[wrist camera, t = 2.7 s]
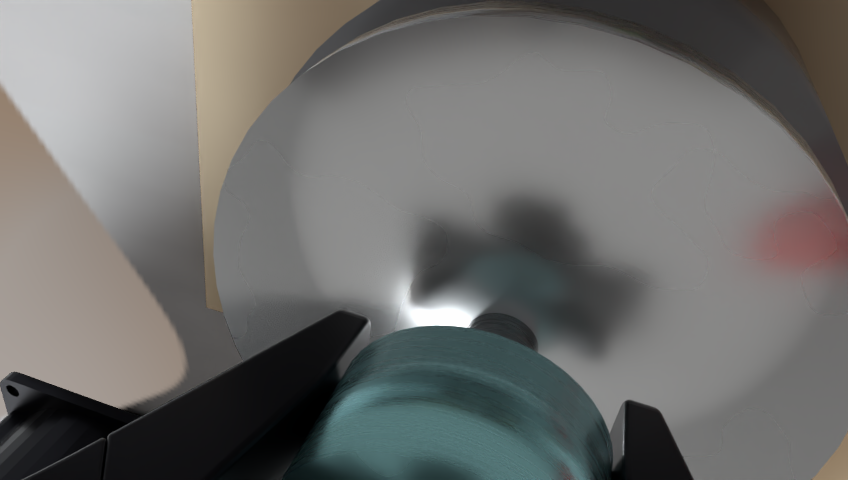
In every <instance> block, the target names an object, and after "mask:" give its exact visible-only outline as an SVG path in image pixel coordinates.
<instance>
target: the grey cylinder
mask: <svg viewBox="0 0 848 480" xmlns="http://www.w3.org/2000/svg"><path fill="white" fill-rule="evenodd" d="M484 1H537V2H546V3H552V4H559V5H566V6H572V7H579V8H586V9H592V10H595V11H598V12H602V13H605V14H609V15H612V16H616V17H619V18H623V19H626V20H630V21H633V22H636V23H640V24H643V25H645V26H647V27H649V28H652V29H654V30H656V31H658V32H661V33H663V34H665V35H668V36H670V37H672V38H674V39H677V40H679V41H681V42H683V43H686V44H688V45H690V46H692V47H693V48H695V49H697V50H698V51H700V52H701V53H703V54H705V55H706V56H708V57H710V58H711V59H713V60H714V61H716V62H718V63H719V64H721V65H723V66H724V67H726V68H727V69H729V70H731V71H732V72H734V73H735V74H736V75H738V76H739V77H740V78H741V79H742V80H744V81H745V82H746V83H747V84H748V85H750V86H751V87H752V88H753V89H754V90H756V91H757V92H758V93H759V94H760V95H762V96H763V97H764V98H765V99H767V100H768V101H769V102H770V103H771V104H773V105H774V106H775V107H776V109H777V110H778V111H779V112H780V113H781V114H782V115H783V116H784V117H785V119H786V120H787V121H788V122H789V123H790V124H791V125H792V126H793V128H794V129H795V130H796V131H797V132H798V133H799V134H800V135H801V137H802V138H803V139H804V140H805V141H806V142H807V143H808V145H809V147H810V148H811V150H812V151H813V153H814V154H815V156H816V157H817V159H818V161H819V162H820V164H821V165H822V167H823V168H824V170H825V171H826V173H827V174H828V176H829V178H830V179H831V181H832V182H833V185H834V187H835V189H836V192H837V194H838V196H839V198H840V201H841V203H842V205H843V208H844V210H845V212H846V215H847V217H848V164H847V162H846V160H845V157H844V155H843V153H842V150H841V148H840V145H839V143H838V141H837V138H836V136H835V134H834V131H833V129H832V127H831V124H830V122H829V120H828V117H827V115H826V113H825V110H824V108H823V106H822V103H821V101H820V99H819V96H818V94H817V91H816V89H815V87H814V84H813V82H812V80H811V77H810V75H809V73H808V70H807V68H806V66H805V63H804V61H803V59H802V56H801V54H800V52H799V49H798V47H797V46H796V44H795V43H794V41H793V39H792V38H791V36H790V35H789V33H788V31H787V30H786V28H785V27H784V25H783V23H782V22H781V20H780V19H779V18H778V16H777V15H776V14H775V13H774V12H773V11H772V9H771V8H770V7H769V6H768V5H767V4H766V3H765V1H764V0H379V1H378V2H376V3H375V4H373V5H372V6H371V7H369V8H368V9H366V10H365V11H363V12H362V13H360V14H359V15H357V16H356V17H354V18H353V19H351V20H350V21H348V22H347V23H345V24H344V25H343V26H342V27H341V28H340V29H339V30H337V31H336V32H335V33H334V34H333V35H332V36H331V37H330V38H329V39H327V40H326V41H325V42H324V43H323V44H322V45H321V46H320V47H319V48H317V49H316V51H315V52H314V53H313V54H312V56H311V57H310V58H309V59H308V61H307V62H306V63H305V64H304V66H303V67H302V68H301V69H300V70H299V72H298V73H297V74H296V75H295V77H294V78H293V80H292V82H293V81H295V80H296V79H297V78H298V77H299V76H300V75H302V74H303V73H304V72H306V71H307V70H308V69H310V68H311V67H312V66H314V65H315V64H317V63H318V62H319V61H321V60H322V59H323V58H325V57H326V56H328V55H329V54H331V53H333V52H334V51H336V50H337V49H339V48H340V47H342V46H344V45H345V44H347V43H348V42H350V41H351V40H353V39H355V38H356V37H358V36H360V35H362V34H364V33H366V32H369V31H371V30H373V29H376V28H378V27H380V26H382V25H385V24H387V23H389V22H391V21H394V20H396V19H399V18H402V17H406V16H410V15H413V14H417V13H421V12H424V11H428V10H432V9H435V8H439V7H444V6H452V5H460V4H468V3H476V2H484ZM292 82H291V83H292ZM291 83H290V84H291Z"/></svg>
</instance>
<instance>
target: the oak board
mask: <svg viewBox="0 0 848 480" xmlns="http://www.w3.org/2000/svg"><path fill="white" fill-rule="evenodd" d="M378 1H379V0H191V3H192V24H193V44H194V65H195V85H196V106H197V127H198V147H199V168H200V188H201V209H202V229H203V250H204V270H205V291H206V307H207V308H210V309H213V310H216V311H219V312H222V313H223V309H222V305H221V301H220V297H219V293H218V289H217V284H216V275H215V266H214V257H213V248H214V222H215V217H216V211H217V206H218V201H219V195H220V191H221V188H222V185H223V182H224V179H225V177H226V174H227V171H228V168H229V166H230V163H231V160H232V158H233V156H234V155H235V153H236V151H237V149H238V147H239V146H240V144H241V142H242V140H243V139H244V137H245V135H246V133H247V131H248V130H249V128H250V127H251V126H252V125H253V123H254V122H255V121H256V120H257V118H258V117H259V116H260V115H261V113H262V112H263V111H264V110H265V109H266V107H267V106H268V105H269V104H270V102H271V101H272V100H273V99H274V98H275V97H277V96H278V95H279V94H280V93H281V92H282V91H283V90H284V89H286V88H287V87H288V86H289V85H290V83H291V82H292V80H293V78H294V77H295V75H296V74H297V73H298V72H299V70H300V69H301V68H302V67H303V66H304V64H305V63H306V62H307V61H308V59H309V58H310V57H311V56H312V54H313V53H314V52H315V51H316V49H317V48H319V47H320V46H321V45H322V44H323V43H324V42H325V41H326V40H327V39H329V38H330V37H331V36H332V35H333V34H334V33H335V32H336V31H337V30H339V29H340V28H341V27H342V26H343V25H344V24H345V23H347V22H348V21H350V20H351V19H353V18H354V17H356V16H357V15H359V14H360V13H362V12H363V11H365V10H366V9H368V8H369V7H371V6H372V5H373V4H375V3H376V2H378ZM764 1H765V3H766V4H767V5H768V6H769V7H770V8H771V9H772V11H773V12H774V13H775V14H776V15H777V16H778V18H779V19H780V20H781V22H782V23H783V25H784V27H785V28H786V30H787V31H788V33H789V35H790V36H791V38H792V39H793V41H794V43H795V44H796V46H797V47H798V49H799V52H800V54H801V56H802V59H803V61H804V63H805V66H806V68H807V70H808V73H809V75H810V77H811V80H812V82H813V84H814V87H815V89H816V91H817V94H818V96H819V99H820V101H821V103H822V106H823V108H824V110H825V113H826V115H827V117H828V120H829V122H830V124H831V127H832V129H833V131H834V134H835V136H836V138H837V141H838V143H839V145H840V148H841V150H842V153H843V155H844V157H845V160H846V162H847V164H848V0H764ZM811 480H848V431H847V433H846V435H845V437H844V438H843V440H842V442H841V444H840V446H839V447H838V449H837V450H836V451H835V452H834V454H833V455H832V456H831V457H830V458H829V460H828V461H827V462H826V463H825V465H824V466H823V467H822V468H821V469H820V471H819V472H818V473H817V474H816V476H814V477H813V478H812V479H811Z"/></svg>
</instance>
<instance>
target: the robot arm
mask: <svg viewBox="0 0 848 480" xmlns="http://www.w3.org/2000/svg"><path fill="white" fill-rule="evenodd" d="M370 329H371V324H370V320H369V319H368V318H367V317H366V316H362V315H359V314H356V313H353V312H350V311H347V310H338V311H336V312H334V313H332V314H330V315H328V316H326V317H325V318H323V319H321V320H319V321H317V322H315V323H313V324H312V325H310V326H308V327H306V328H304V329H302V330H301V331H299V332H297V333H295V334H293V335H291V336H289V337H288V338H286V339H284V340H282V341H280V342H278V343H277V344H275V345H273V346H271V347H269V348H267V349H265V350H264V351H262V352H260V353H258V354H256V355H254V356H253V357H251V358H249V359H247V360H245V361H243V362H241V363H240V364H238V365H236V366H234V367H232V368H230V369H229V370H227V371H225V372H223V373H221V374H219V375H217V376H216V377H214V378H212V379H210V380H208V381H206V382H205V383H203V384H201V385H199V386H197V387H195V388H193V389H192V390H190V391H188V392H186V393H184V394H182V395H181V396H179V397H177V398H175V399H173V400H171V401H169V402H168V403H166V404H164V405H162V406H160V407H158V408H156V409H155V410H153V411H151V412H149V413H147V414H145V415H144V416H142V417H141V416H138V415H135V414H132V413H129V412H127V411H124V410H121V409H118V408H116V407H113V406H110V405H107V404H104V403H101V402H99V401H96V400H93V399H91V398H88V397H85V396H82V395H79V394H77V393H74V392H71V391H68V390H66V389H63V388H60V387H57V386H55V385H52V384H49V383H46V382H43V381H40V380H38V379H35V378H32V377H30V376H27V375H24V374H21V373H18V372H11V373H10V374H9V375H8V376H6V377H5V378H4V379H3V380H2V381H1V382H0V387H1V391H2V394H3V398H4V401H5V405H6V409H7V412H8V416H6V417H5V418H4V419H3V420H2V421H1V422H0V480H281V479H282V478H283V476H284V474H285V472H286V471H287V469H288V467H289V466H290V464H291V462H292V461H293V459H294V457H295V456H296V454H297V452H298V451H299V449H300V447H301V445H302V444H303V442H304V440H305V439H306V437H307V435H308V434H309V432H310V430H311V429H312V427H313V425H314V424H315V422H316V420H317V418H318V417H319V415H320V413H321V412H322V410H323V408H324V407H325V405H326V403H327V402H328V400H329V398H330V396H331V395H332V393H333V391H334V390H335V388H336V386H337V385H338V383H339V381H340V380H341V378H342V376H343V375H344V373H345V371H346V370H347V368H348V366H349V365H350V363H351V362H352V360H353V359H354V358H355V357H356V356H357V355H358V354H359V353H360V351H361V350H363V349H364V348H365V347H367V346H368V345H369V337H370ZM610 438H611V442H612V448H613V467H612V476H611V480H694V478H693V476H692V474H691V472H690V470H689V468H688V466H687V464H686V462H685V460H684V458H683V456H682V454H681V452H680V450H679V448H678V446H677V444H676V442H675V440H674V437H673V435H672V433H671V431H670V429H669V427H668V425H667V423H666V421H665V419H664V417H663V415H662V413H661V412H660V411H659V410H658V409H657V408H655V407H652V406H649V405H646V404H643V403H640V402H636V401H633V400H626V401H624V402H623V404H622V405H621V407H620V410H619V412H618V415H617V417H616V419H615V422H614V424H613V427H612V429H611V432H610Z"/></svg>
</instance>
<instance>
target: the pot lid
mask: <svg viewBox="0 0 848 480" xmlns="http://www.w3.org/2000/svg"><path fill="white" fill-rule="evenodd" d="M213 257H214V266H215V275H216V284H217V289H218V293H219V297H220V301H221V305H222V309H223V313H224V317H225V320H226V322H227V325H228V328H229V330H230V333H231V335H232V338H233V341H234V343H235V346H236V348H237V350H238V352H239V354H240V356H241V357H242V359H243V361H245V360H247V359H249V358H251V357H253V356H254V355H256V354H258V353H260V352H262V351H264V350H265V349H267V348H269V347H271V346H273V345H275V344H277V343H278V342H280V341H282V340H284V339H286V338H288V337H289V336H291V335H293V334H295V333H297V332H299V331H301V330H302V329H304V328H306V327H308V326H310V325H312V324H313V323H315V322H317V321H319V320H321V319H323V318H325V317H326V316H328V315H330V314H332V313H334V312H336V311H338V310H347V311H350V312H353V313H356V314H359V315H362V316H366V317H367V318H368V319H369V320H370V324H371V329H370V337H369V345H368V346H367V347H365V348H364V349H363V350H361V351H360V353H359V354H358V355H357V356H356V357H355V358H354V359H353V360H352V362H351V363H350V365H349V366H348V368H347V370H346V371H345V373H344V375H343V376H342V378H341V380H340V381H339V383H338V385H337V386H336V388H335V390H334V391H333V393H332V395H331V396H330V398H329V400H328V402H327V403H326V405H325V407H324V408H323V410H322V412H321V413H320V415H319V417H318V418H317V420H316V422H315V424H314V425H313V427H312V429H311V430H310V432H309V434H308V435H307V437H306V439H305V440H304V442H303V444H302V445H301V447H300V449H299V451H298V452H297V454H296V456H295V457H294V459H293V461H292V462H291V464H290V466H289V467H288V469H287V471H286V472H285V474H284V476H283V478H282V479H281V480H611V476H612V467H613V448H612V442H611V438H610V432H611V429H612V427H613V424H614V422H615V419H616V417H617V415H618V412H619V410H620V407H621V405H622V404H623V402H624V401H626V400H633V401H636V402H640V403H643V404H646V405H649V406H652V407H655V408H657V409H658V410H659V411H660V412H661V413H662V415H663V417H664V419H665V421H666V423H667V425H668V427H669V429H670V431H671V433H672V435H673V437H674V440H675V442H676V444H677V446H678V448H679V450H680V452H681V454H682V456H683V458H684V460H685V462H686V464H687V466H688V468H689V470H690V472H691V474H692V476H693V478H694V480H811V479H812V478H813V477H814V476H816V474H817V473H818V472H819V471H820V469H821V468H822V467H823V466H824V465H825V463H826V462H827V461H828V460H829V458H830V457H831V456H832V455H833V454H834V452H835V451H836V450H837V449H838V447H839V446H840V444H841V442H842V440H843V438H844V437H845V435H846V433H847V431H848V217H847V215H846V212H845V210H844V208H843V205H842V203H841V201H840V198H839V196H838V194H837V192H836V189H835V187H834V185H833V182H832V181H831V179H830V178H829V176H828V174H827V173H826V171H825V170H824V168H823V167H822V165H821V164H820V162H819V161H818V159H817V157H816V156H815V154H814V153H813V151H812V150H811V148H810V147H809V145H808V143H807V142H806V141H805V140H804V139H803V138H802V137H801V135H800V134H799V133H798V132H797V131H796V130H795V129H794V128H793V126H792V125H791V124H790V123H789V122H788V121H787V120H786V119H785V117H784V116H783V115H782V114H781V113H780V112H779V111H778V110H777V109H776V107H775V106H774V105H773V104H771V103H770V102H769V101H768V100H767V99H765V98H764V97H763V96H762V95H760V94H759V93H758V92H757V91H756V90H754V89H753V88H752V87H751V86H750V85H748V84H747V83H746V82H745V81H744V80H742V79H741V78H740V77H739V76H738V75H736V74H735V73H734V72H732V71H731V70H729V69H727V68H726V67H724V66H723V65H721V64H719V63H718V62H716V61H714V60H713V59H711V58H710V57H708V56H706V55H705V54H703V53H701V52H700V51H698V50H697V49H695V48H693V47H692V46H690V45H688V44H686V43H683V42H681V41H679V40H677V39H674V38H672V37H670V36H668V35H665V34H663V33H661V32H658V31H656V30H654V29H652V28H649V27H647V26H645V25H643V24H640V23H636V22H633V21H630V20H626V19H623V18H619V17H616V16H612V15H609V14H605V13H602V12H598V11H595V10H592V9H586V8H579V7H572V6H566V5H559V4H552V3H546V2H537V1H484V2H476V3H468V4H460V5H452V6H444V7H439V8H435V9H432V10H428V11H424V12H421V13H417V14H413V15H410V16H406V17H402V18H399V19H396V20H394V21H391V22H389V23H387V24H385V25H382V26H380V27H378V28H376V29H373V30H371V31H369V32H366V33H364V34H362V35H360V36H358V37H356V38H355V39H353V40H351V41H350V42H348V43H347V44H345V45H344V46H342V47H340V48H339V49H337V50H336V51H334V52H333V53H331V54H329V55H328V56H326V57H325V58H323V59H322V60H321V61H319V62H318V63H317V64H315V65H314V66H312V67H311V68H310V69H308V70H307V71H306V72H304V73H303V74H302V75H300V76H299V77H298V78H297V79H296V80H295V81H293V82H292V83H291V84H290V85H289V86H288V87H287V88H286V89H284V90H283V91H282V92H281V93H280V94H279V95H278V96H277V97H275V98H274V99H273V100H272V101H271V102H270V104H269V105H268V106H267V107H266V109H265V110H264V111H263V112H262V113H261V115H260V116H259V117H258V118H257V120H256V121H255V122H254V123H253V125H252V126H251V127H250V128H249V130H248V131H247V133H246V135H245V137H244V139H243V140H242V142H241V144H240V146H239V147H238V149H237V151H236V153H235V155H234V156H233V158H232V160H231V163H230V166H229V168H228V171H227V174H226V177H225V179H224V182H223V185H222V188H221V191H220V195H219V201H218V206H217V211H216V217H215V222H214V248H213Z"/></svg>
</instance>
